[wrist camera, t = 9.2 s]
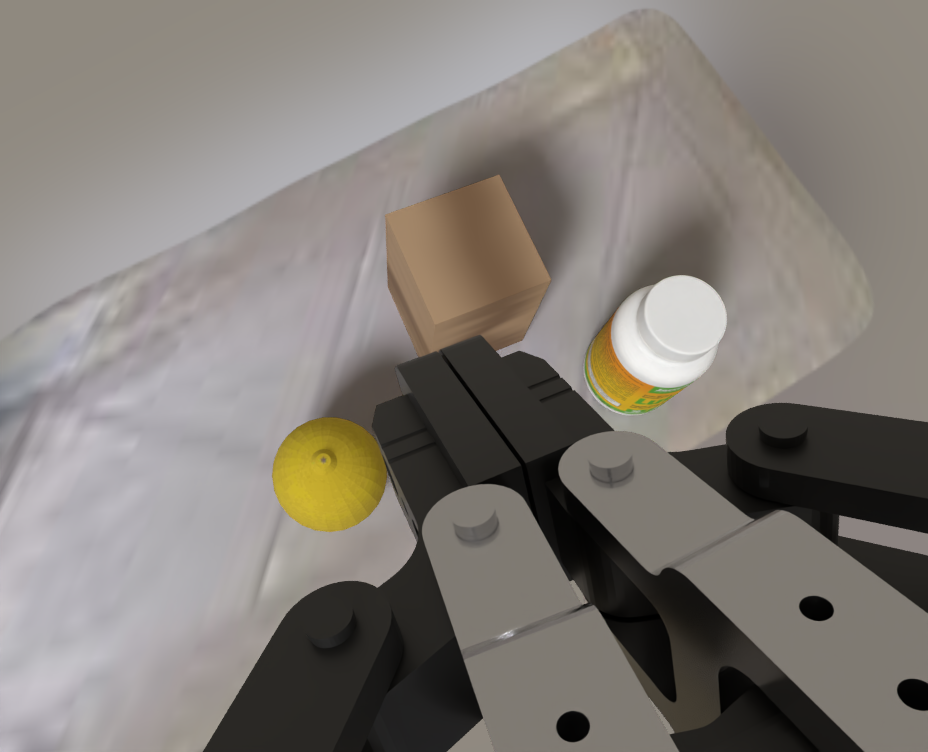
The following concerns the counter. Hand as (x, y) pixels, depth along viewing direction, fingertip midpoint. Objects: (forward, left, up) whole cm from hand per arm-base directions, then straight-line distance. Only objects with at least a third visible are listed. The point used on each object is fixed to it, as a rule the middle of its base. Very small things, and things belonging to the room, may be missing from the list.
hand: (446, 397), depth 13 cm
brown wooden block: (+7, +11, -30) cm, 33 cm away
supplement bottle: (+15, +4, -30) cm, 34 cm away
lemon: (-3, +4, -30) cm, 30 cm away
